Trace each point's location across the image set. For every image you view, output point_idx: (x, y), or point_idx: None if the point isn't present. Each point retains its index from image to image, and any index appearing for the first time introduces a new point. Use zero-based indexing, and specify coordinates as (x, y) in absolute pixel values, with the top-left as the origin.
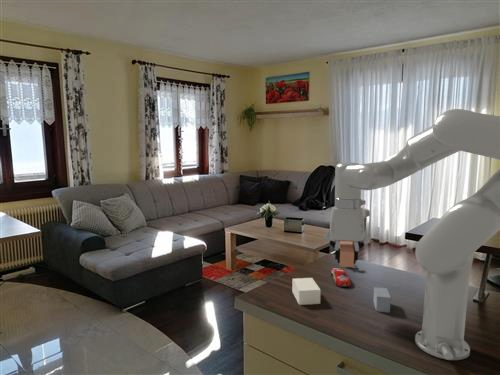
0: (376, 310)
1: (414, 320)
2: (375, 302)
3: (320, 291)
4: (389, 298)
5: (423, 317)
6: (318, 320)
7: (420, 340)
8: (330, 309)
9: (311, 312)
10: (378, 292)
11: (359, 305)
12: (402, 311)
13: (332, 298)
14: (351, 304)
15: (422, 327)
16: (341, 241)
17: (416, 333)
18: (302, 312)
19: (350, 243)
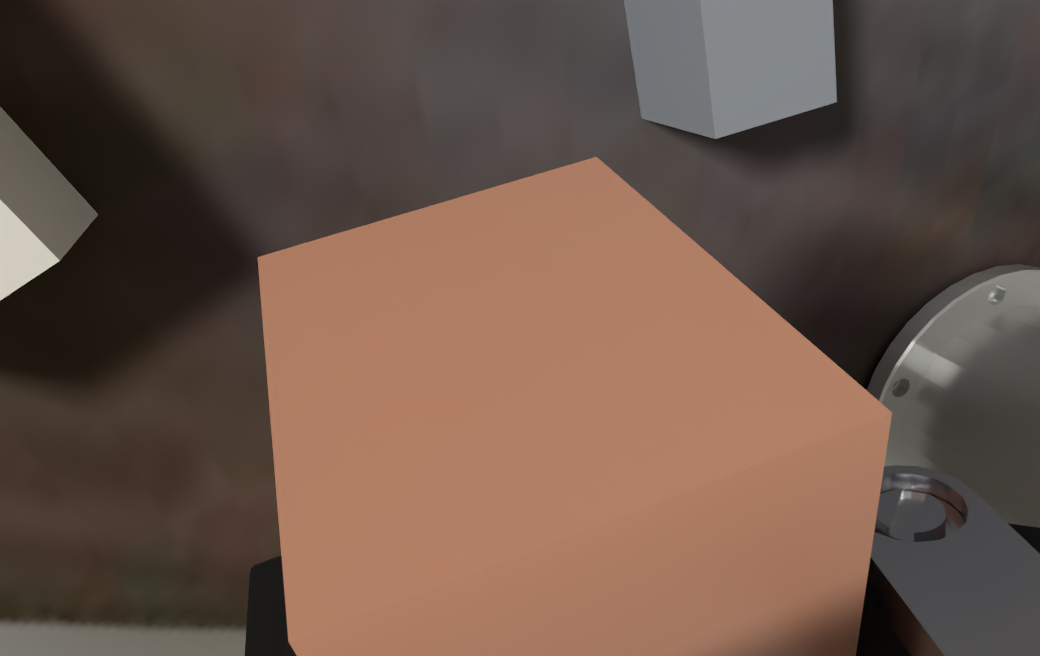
0: (646, 118)
1: (899, 140)
2: (654, 44)
3: (64, 253)
4: (819, 102)
5: (1022, 510)
6: (229, 515)
7: (892, 450)
8: (250, 285)
9: (107, 429)
10: (730, 16)
11: (489, 61)
12: (841, 13)
13: (171, 9)
14: (411, 74)
15: (958, 459)
16: (402, 629)
17: (886, 381)
18: (27, 472)
19: (789, 584)
